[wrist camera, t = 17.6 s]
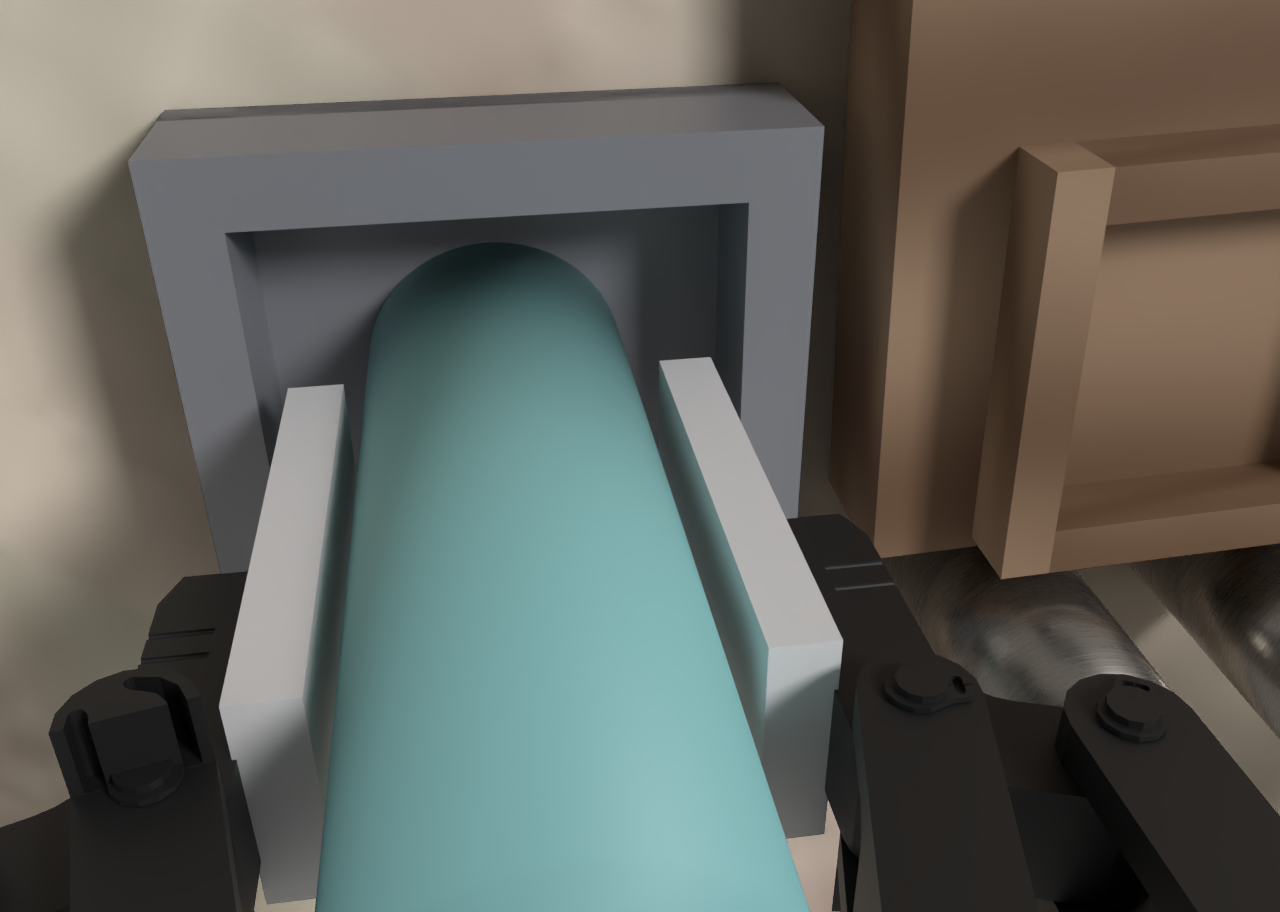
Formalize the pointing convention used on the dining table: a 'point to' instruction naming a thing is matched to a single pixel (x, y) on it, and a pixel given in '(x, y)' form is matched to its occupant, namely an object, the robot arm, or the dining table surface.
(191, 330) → the tray
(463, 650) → the dowel
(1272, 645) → the bench dogs
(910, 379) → the brown flat block
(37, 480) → the dining table surface
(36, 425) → the dining table surface
